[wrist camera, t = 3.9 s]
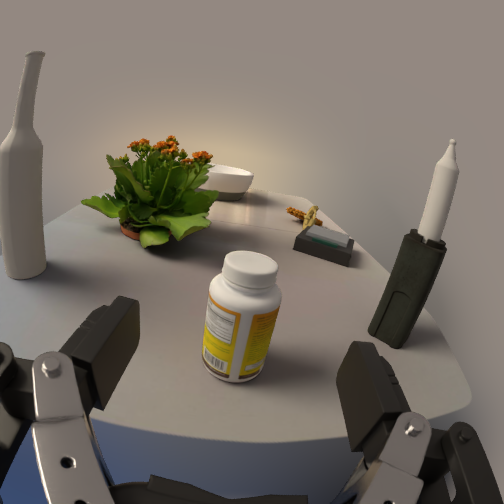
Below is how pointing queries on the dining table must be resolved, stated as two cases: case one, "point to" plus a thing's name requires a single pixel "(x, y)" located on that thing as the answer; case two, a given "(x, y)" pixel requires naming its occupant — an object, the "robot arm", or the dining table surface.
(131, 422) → the dining table surface
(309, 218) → the ornament
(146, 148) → the potted flower
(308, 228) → the scale
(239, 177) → the bowl
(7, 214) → the bottle
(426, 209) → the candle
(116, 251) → the dining table surface
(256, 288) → the supplement bottle
